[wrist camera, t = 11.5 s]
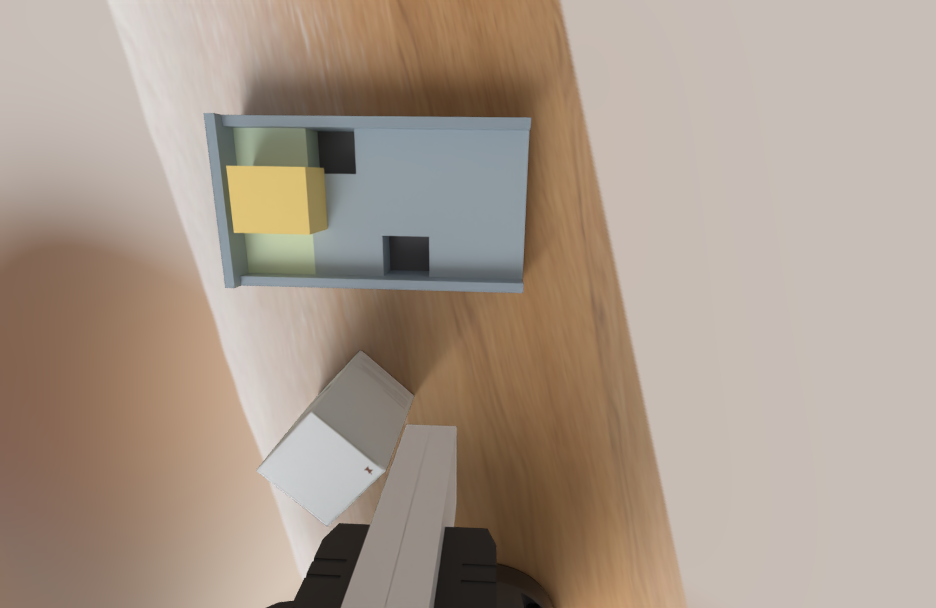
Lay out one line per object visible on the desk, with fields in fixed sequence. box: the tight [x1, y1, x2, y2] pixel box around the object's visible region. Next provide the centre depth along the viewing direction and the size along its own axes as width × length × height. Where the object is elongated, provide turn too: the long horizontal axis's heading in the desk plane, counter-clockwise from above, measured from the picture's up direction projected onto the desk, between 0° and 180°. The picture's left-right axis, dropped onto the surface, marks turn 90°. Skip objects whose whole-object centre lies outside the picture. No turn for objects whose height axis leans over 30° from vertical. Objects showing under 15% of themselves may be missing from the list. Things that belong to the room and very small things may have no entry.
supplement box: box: [257, 351, 414, 526], centre depth 41 cm, size 7×7×13 cm
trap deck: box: [204, 113, 531, 293], centre depth 39 cm, size 14×25×6 cm, turn 89°
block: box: [226, 166, 328, 235], centre depth 38 cm, size 5×6×4 cm
